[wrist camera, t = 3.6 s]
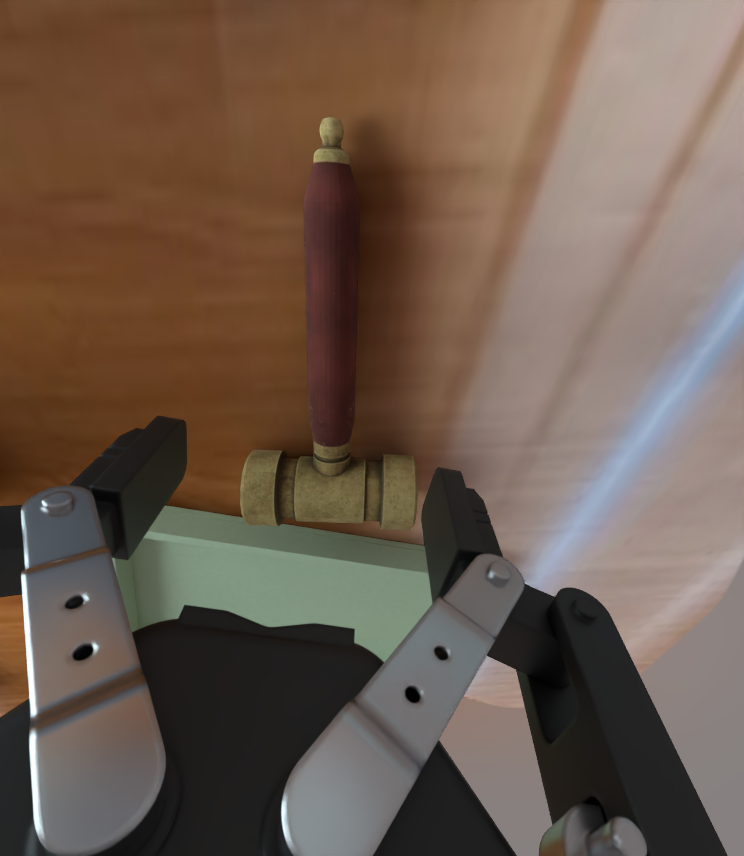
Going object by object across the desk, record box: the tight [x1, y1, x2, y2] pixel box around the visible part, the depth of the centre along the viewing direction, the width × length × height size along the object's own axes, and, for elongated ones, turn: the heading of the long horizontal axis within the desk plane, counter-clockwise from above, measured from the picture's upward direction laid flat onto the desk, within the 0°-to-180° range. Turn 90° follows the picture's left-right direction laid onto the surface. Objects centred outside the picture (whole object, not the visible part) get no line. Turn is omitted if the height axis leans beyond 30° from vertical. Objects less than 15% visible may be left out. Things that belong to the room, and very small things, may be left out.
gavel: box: [240, 117, 418, 530], centre depth 22 cm, size 21×5×10 cm
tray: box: [112, 505, 432, 662], centre depth 33 cm, size 26×15×3 cm, turn 78°
